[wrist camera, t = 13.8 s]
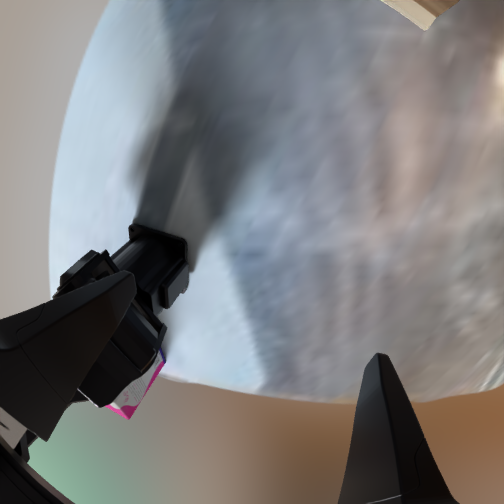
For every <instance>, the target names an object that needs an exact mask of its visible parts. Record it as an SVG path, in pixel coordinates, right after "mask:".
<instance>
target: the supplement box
mask: <svg viewBox="0 0 504 504" xmlns="http://www.w3.org/2000/svg"><path fill="white" fill-rule="evenodd" d="M165 363H166V361H165V358H164V356H163V353H162V350H161V347H160V349H159V352H158V355H157V357H156V360H155V362H154V363H153V365H152V367H151V368H150V369H149V370H148V371H147V372H146V373H145V374H144V375H143V376H141V377H140V378H138V379H136V380H134V381H133V382H131V383H130V384H129V385H128V386H127V387H126V388H125V389H124V390H123V391H122V392H121V393H120V394H119V395H118V396H117V398H116V399H115V400H114V401H113V402H112V403H111V404H109V405H107V406H106V407H107V408H109V409H111V410H113V411H114V412H116V413H118V414H120V415H121V416H123V417H124V418H126V419H128V420H129V419H130V418H131V416H132V415H133V413H134V411H135V410H136V408H137V406H138V405H139V403H140V402H141V400H142V399H143V397H144V395H145V394H146V392H147V391H148V389H149V388H150V386H151V384H152V383H153V381H154V380H155V378H156V377H157V375H158V374H159V372H160V370H161V369H162V367H163V366H164V364H165Z"/></svg>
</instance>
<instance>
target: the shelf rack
mask: <svg viewBox="0 0 504 504" xmlns="http://www.w3.org/2000/svg"><path fill="white" fill-rule="evenodd" d="M381 1H382V2H384V3H385V4H387V5H389V6H390V7H392V8H393V9H395V10H396V11H398V12H399V13H401V14H402V15H403V16H405V17H406V18H408V19H409V20H410V21H412V22H413V23H415V24H416V25H417V26H419V27H420V28H421V29H422V30H424V31H425V30H427V29H428V28H429V27H430V26H431V24H432V23H433V21H434V20H435V19H436V17H438V16H439V15H440V14H442V13H443V12H445V11H446V10H448V9H449V8H450V7H452V6H453V5H455V4H456V3H458V1H459V0H381Z"/></svg>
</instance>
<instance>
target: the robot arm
mask: <svg viewBox="0 0 504 504" xmlns="http://www.w3.org/2000/svg"><path fill="white" fill-rule="evenodd" d="M128 229H129V239H130V240H129V241H128V242H127V243H126V244H125V245H123V246H122V247H121V248H120V249H119V250H118V251H116V252H115V253H114V254H113V255H112V256H111V257H110V256H109V255H110V254H109V253H108V251H107V250H104V251H103V252H102V253H99V252H95V251H94V250H90V251H89V252H88V253H87V254H86V255H84V256H83V257H82V258H81V259H80V260H78V261H77V262H76V263H75V264H74V265H73V266H71V267H70V268H69V269H68V270H67V271H66V272H65V273H64V274H62V275H61V276H60V286H59V287H58V288H57V290H58V291H57V292H56V293H55V294H54V295H53V297H52V298H53V300H50V301H48V302H46V303H43V304H41V305H39V306H36V307H34V308H31V309H29V310H26V311H23V312H21V313H18V314H15V315H12V316H9V317H6V318H3V319H0V504H75V503H73V502H72V501H71V500H69V499H68V498H66V497H65V496H64V495H63V494H62V493H60V492H59V491H58V490H56V489H55V488H54V487H53V486H52V485H50V484H49V483H48V482H47V481H46V480H45V479H43V478H42V477H41V476H40V475H39V474H38V473H37V472H36V471H35V470H34V469H32V468H31V467H30V466H29V465H28V464H27V462H28V461H29V459H30V456H29V451H28V447H29V446H30V445H31V444H32V443H33V442H34V441H35V440H36V439H37V438H38V437H40V438H41V439H43V440H44V441H45V442H47V441H48V439H49V438H50V436H51V434H52V432H53V430H54V429H55V427H56V425H57V423H58V421H59V420H60V418H61V416H62V414H63V413H64V411H65V410H66V409H67V408H68V407H69V406H70V405H71V404H72V403H77V402H84V401H91V402H92V403H93V404H94V405H96V406H97V407H98V408H101V407H104V406H107V405H109V404H111V403H112V402H113V401H114V400H115V399H116V398H117V396H118V395H119V394H120V393H121V392H122V391H123V390H124V389H125V388H126V387H127V386H128V385H129V384H130V383H131V382H133V381H134V380H136V379H138V378H140V377H141V376H143V375H144V374H145V373H146V372H147V371H148V370H149V369H150V368H151V367H152V365H153V363H154V362H155V360H156V357H157V355H158V352H159V349H160V346H161V344H162V341H163V338H164V335H165V333H166V330H167V327H166V326H165V324H164V323H162V322H161V321H160V320H159V319H158V318H157V316H158V315H159V314H160V312H161V311H162V310H163V308H165V309H168V308H170V307H171V305H172V304H173V303H174V301H175V300H176V298H177V297H178V296H179V294H180V293H182V294H183V293H185V291H186V290H187V284H188V262H187V242H186V241H185V240H184V239H183V238H179V237H176V236H173V235H170V234H166V233H163V232H160V231H157V230H153V229H150V228H147V227H144V226H140V225H137V224H131V225H130V226H129V228H128ZM180 243H181V244H182V245H181V244H180ZM338 504H459V503H458V502H457V501H456V500H455V499H454V498H453V497H452V495H451V493H450V491H449V489H448V487H447V485H446V483H445V481H444V479H443V477H442V475H441V473H440V471H439V469H438V466H437V464H436V462H435V460H434V458H433V456H432V453H431V451H430V448H429V446H428V444H427V441H426V438H424V434H423V431H422V429H421V426H420V424H419V422H418V419H417V417H416V414H415V412H414V410H413V408H412V405H411V403H410V401H409V399H408V396H407V394H406V392H405V390H404V388H403V385H402V383H401V381H400V379H399V377H398V375H397V373H396V371H395V368H394V366H393V364H392V362H391V360H390V358H389V356H388V355H386V354H382V353H376V354H375V355H374V356H373V358H372V359H371V360H370V362H369V363H368V364H367V366H366V367H365V370H364V375H363V379H362V384H361V389H360V393H359V397H358V401H357V406H356V412H355V418H354V425H353V432H352V438H351V444H350V450H349V455H348V460H347V466H346V471H345V475H344V479H343V484H342V488H341V492H340V496H339V500H338Z"/></svg>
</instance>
